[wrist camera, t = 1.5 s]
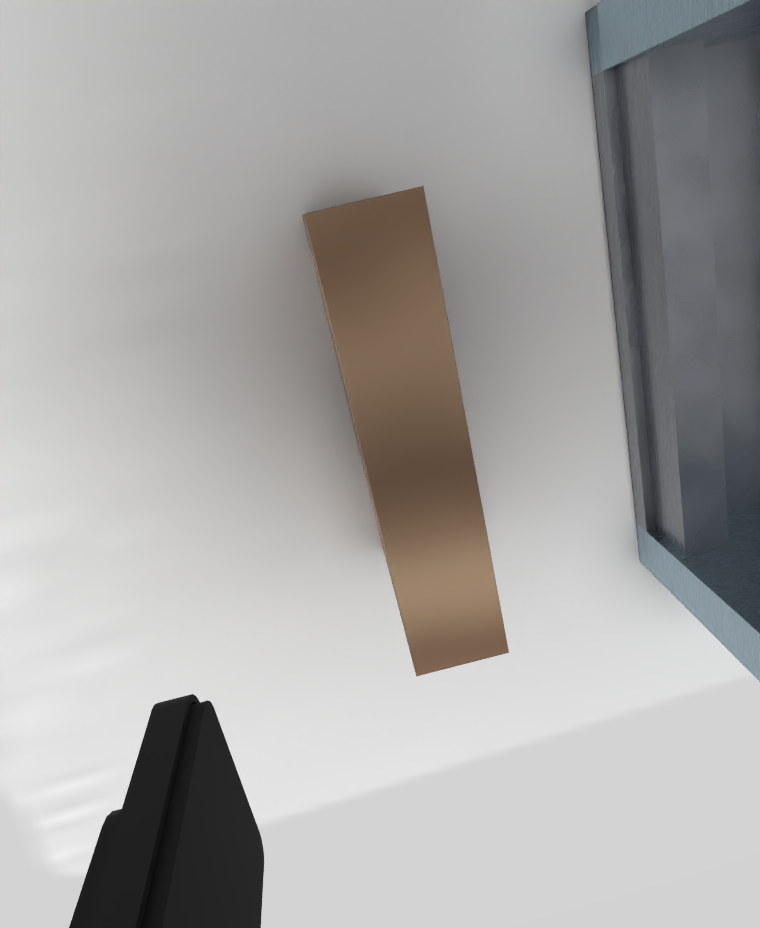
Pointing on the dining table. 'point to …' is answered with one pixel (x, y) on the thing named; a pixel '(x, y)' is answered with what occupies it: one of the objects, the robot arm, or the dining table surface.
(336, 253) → the brown rectangular block
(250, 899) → the robot arm
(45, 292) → the dining table surface
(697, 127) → the door track
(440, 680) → the dining table surface
